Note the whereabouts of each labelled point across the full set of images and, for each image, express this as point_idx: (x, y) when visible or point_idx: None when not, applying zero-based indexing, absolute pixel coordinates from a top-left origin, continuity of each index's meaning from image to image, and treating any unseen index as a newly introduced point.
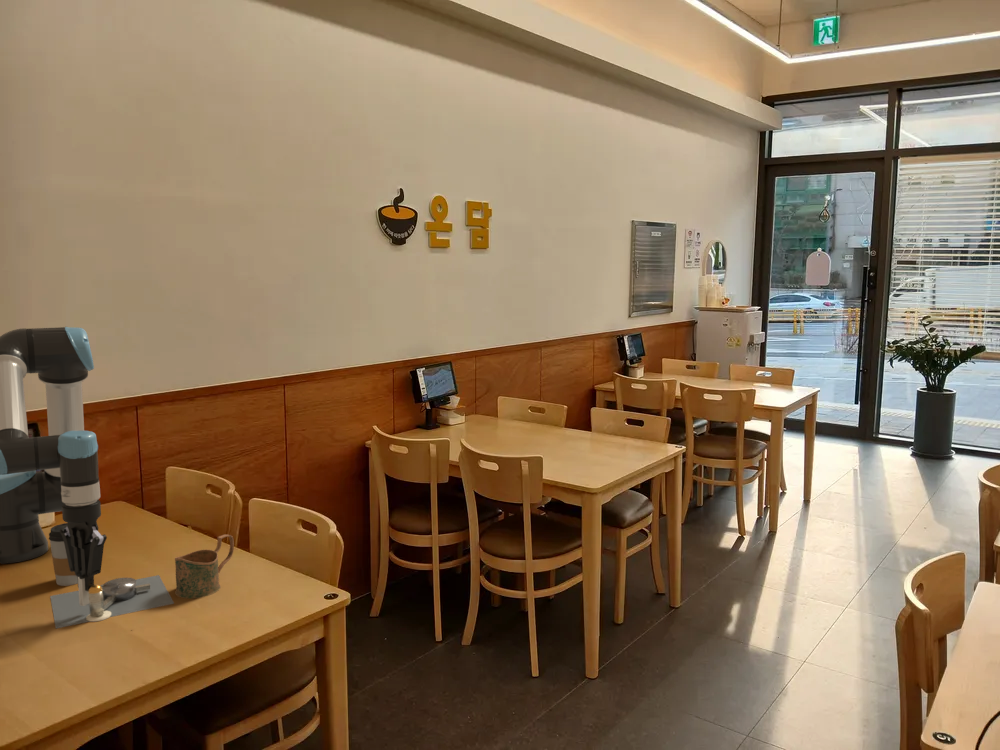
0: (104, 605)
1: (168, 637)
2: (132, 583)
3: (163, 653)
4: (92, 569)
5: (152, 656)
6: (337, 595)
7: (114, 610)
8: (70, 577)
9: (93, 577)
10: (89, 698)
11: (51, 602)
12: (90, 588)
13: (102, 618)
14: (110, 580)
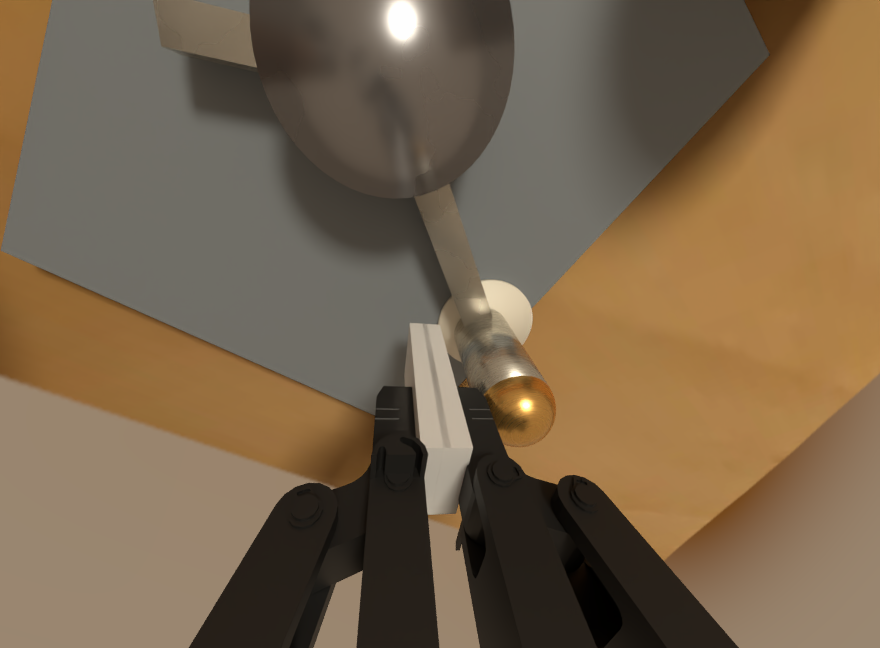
0: (484, 299)
1: (782, 306)
2: (497, 18)
3: (789, 375)
4: (615, 603)
5: (764, 394)
6: None
7: (504, 255)
8: None
9: (506, 456)
10: (692, 517)
11: (126, 305)
12: (510, 445)
13: (521, 339)
14: (253, 28)
